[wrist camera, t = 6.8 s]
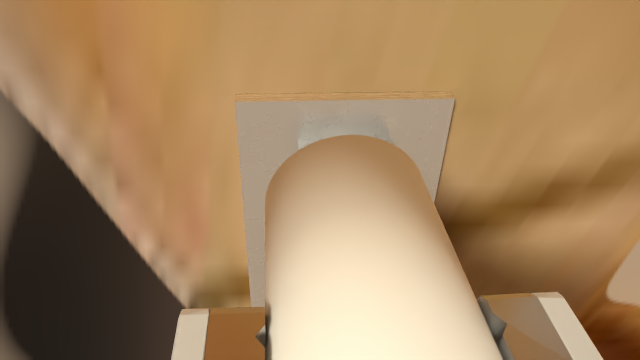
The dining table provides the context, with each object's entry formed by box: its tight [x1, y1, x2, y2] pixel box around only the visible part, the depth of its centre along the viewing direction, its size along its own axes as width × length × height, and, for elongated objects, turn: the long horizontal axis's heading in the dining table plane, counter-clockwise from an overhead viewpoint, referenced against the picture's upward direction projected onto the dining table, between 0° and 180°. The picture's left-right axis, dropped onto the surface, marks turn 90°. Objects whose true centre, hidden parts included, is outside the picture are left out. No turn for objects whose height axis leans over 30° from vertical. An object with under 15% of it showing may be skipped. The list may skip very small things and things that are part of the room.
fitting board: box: [235, 91, 455, 307], centre depth 35 cm, size 13×22×4 cm, turn 178°
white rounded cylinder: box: [265, 135, 503, 360], centre depth 9 cm, size 4×4×8 cm
